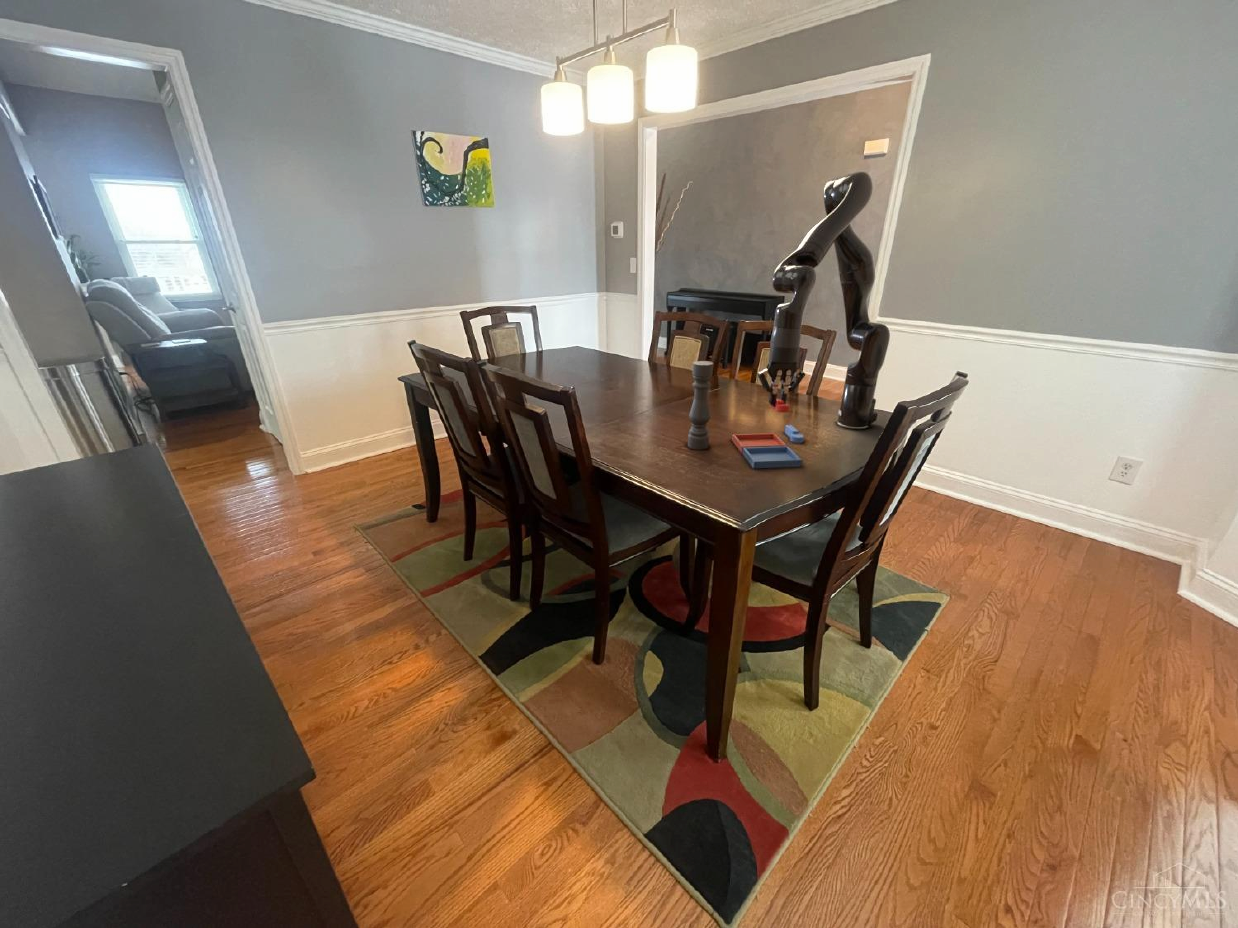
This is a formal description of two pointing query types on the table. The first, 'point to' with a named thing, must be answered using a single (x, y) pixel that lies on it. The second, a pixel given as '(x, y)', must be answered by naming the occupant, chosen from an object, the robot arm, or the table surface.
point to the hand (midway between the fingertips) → (776, 405)
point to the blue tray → (771, 457)
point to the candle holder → (700, 405)
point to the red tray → (757, 440)
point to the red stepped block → (781, 406)
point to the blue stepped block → (794, 434)
